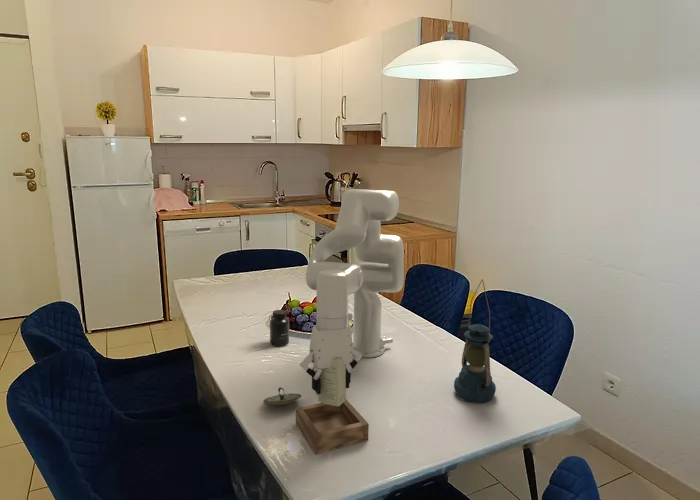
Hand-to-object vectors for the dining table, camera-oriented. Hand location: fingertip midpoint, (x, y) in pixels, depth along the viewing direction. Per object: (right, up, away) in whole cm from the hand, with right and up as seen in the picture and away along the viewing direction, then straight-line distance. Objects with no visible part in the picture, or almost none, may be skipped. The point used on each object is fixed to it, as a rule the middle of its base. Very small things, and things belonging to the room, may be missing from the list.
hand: (331, 388), depth 124 cm
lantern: (+41, -8, +23) cm, 48 cm away
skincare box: (0, -3, +1) cm, 3 cm away
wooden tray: (0, -12, +3) cm, 12 cm away
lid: (-14, -9, +15) cm, 23 cm away
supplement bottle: (-21, 0, +57) cm, 61 cm away
